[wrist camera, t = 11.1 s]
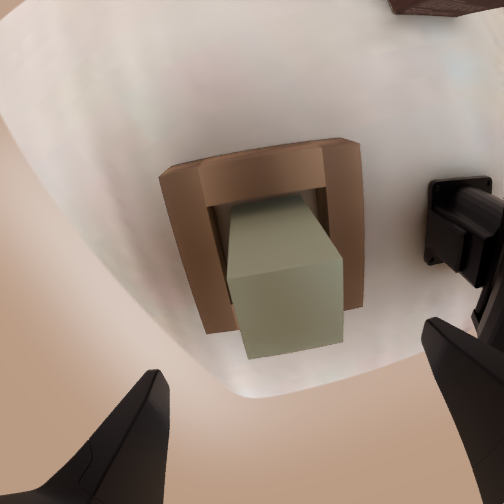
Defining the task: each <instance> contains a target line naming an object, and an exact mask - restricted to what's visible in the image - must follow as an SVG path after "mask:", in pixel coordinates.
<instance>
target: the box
mask: <svg viewBox="0 0 504 504" xmlns="http://www.w3.org/2000/svg"><path fill="white" fill-rule="evenodd" d="M388 2H389V5H390V7H391V9H392V10H393V12H394V13H395V14H423V15H440V16H452V17H458V16H462V15H466V14H470V13H475V12H480V11H485V10H489V9H494V8H500V7H504V0H388Z"/></svg>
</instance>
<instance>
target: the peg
mask: <svg viewBox="0 0 504 504" xmlns="http://www.w3.org/2000/svg"><path fill="white" fill-rule="evenodd" d="M227 283H228V286H229V290H230V294H231V298H232V302H233V305H234V309H235V313H236V317H237V320H238V324H239V328H240V331H241V335H242V339H243V342H244V346H245V350H246V353H247V357H248V359H255V358H261V357H268V356H274V355H280V354H286V353H291V352H297V351H302V350H307V349H312V348H317V347H322V346H327V345H331V344H336V343H340V342H343V258H342V257H341V255H340V254H339V252H338V251H337V249H336V247H335V246H334V244H333V243H332V241H331V240H330V238H329V237H328V235H327V234H326V232H325V231H324V229H323V228H322V226H321V225H320V223H319V222H318V220H317V219H316V217H315V216H314V214H313V213H312V211H311V210H310V209H309V207H308V206H307V204H306V203H305V201H304V200H303V198H302V197H301V196H300V194H299V195H293V196H287V197H281V198H275V199H269V200H263V201H257V202H252V203H246V204H241V205H236V206H232V207H231V221H230V235H229V250H228V266H227Z"/></svg>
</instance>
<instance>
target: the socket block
mask: <svg viewBox="0 0 504 504" xmlns="http://www.w3.org/2000/svg"><path fill="white" fill-rule="evenodd" d="M158 178H159V181H160V185H161V189H162V193H163V197H164V200H165V204H166V208H167V211H168V215H169V218H170V222H171V226H172V229H173V232H174V236H175V239H176V243H177V246H178V249H179V253H180V256H181V259H182V262H183V266H184V269H185V272H186V275H187V278H188V281H189V284H190V287H191V291H192V294H193V297H194V300H195V303H196V305H197V308H198V311H199V314H200V317H201V320H202V323H203V326H204V329H205V331H206V334H212V333H219V332H227V331H234V330H240V328H239V324H238V320H237V317H236V313H235V309H234V305H233V302H232V298H231V294H230V290H229V286H228V283H227V266H228V250H229V235H230V221H231V207H232V206H236V205H241V204H246V203H252V202H257V201H263V200H269V199H275V198H281V197H287V196H293V195H299V194H300V196H301V197H302V198H303V200H304V201H305V203H306V204H307V206H308V207H309V209H310V210H311V211H312V213H313V214H314V216H315V217H316V219H317V220H318V222H319V223H320V225H321V226H322V228H323V229H324V231H325V232H326V234H327V235H328V237H329V238H330V240H331V241H332V243H333V244H334V246H335V247H336V249H337V251H338V252H339V254H340V255H341V257H342V258H343V311H346V310H350V309H355V308H359V307H363V292H364V200H363V181H362V166H361V153H360V144H359V143H356V142H353V141H350V140H347V139H343V138H333V139H323V140H314V141H306V142H298V143H291V144H284V145H277V146H270V147H264V148H258V149H252V150H246V151H241V152H235V153H230V154H225V155H220V156H215V157H210V158H205V159H200V160H196V161H191V162H187V163H182V164H178V165H174V166H171V167H170V168H168V169H167V170H166V171H165V172H164V173H163V174H161V175H160V176H159V177H158Z"/></svg>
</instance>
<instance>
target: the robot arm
mask: <svg viewBox="0 0 504 504" xmlns="http://www.w3.org/2000/svg"><path fill="white" fill-rule="evenodd" d="M486 183H487V184H486ZM436 186H437V189H436V190H435V187H436ZM491 193H492V179H491V178H490V177H488V176H476V177H463V178H452V179H441V180H434V181H432V182H431V183H430V185H429V204H428V214H427V228H426V241H425V245H426V246H425V256H424V261H425V262H426V263H427V264H428V265H429V266H431V265H435V264H439V263H443V262H445V263H446V264H447V265H448V266H449V267H450V268H451V269H452V270H453V271H454V272H455V273H460V274H461V275H462V276H463V277H464V278H465V279H466V280H467V281H468V282H469V283H470V284H471V285H472V286H473V287H474V288H480V287H482V288H483V289H482V292H481V295H480V298H479V300H478V303H477V306H476V308H475V309H474V310H473V313H472V315H471V318H472V321H473V324H474V326H475V329H476V331H477V336H478V339H477V338H475V337H474V336H472V335H470V334H468V333H466V332H464V331H462V330H461V329H459V328H457V327H455V326H453V325H451V324H449V323H447V322H445V321H444V320H442V319H440V318H438V317H433V318H430V319H427V320H426V321H425V324H424V328H423V332H422V336H421V341H422V345H423V347H424V350H425V353H426V355H427V358H428V361H429V364H430V366H431V369H432V372H433V375H434V377H435V380H436V382H437V384H438V386H439V388H440V391H441V393H442V395H443V397H444V399H445V402H446V404H447V406H448V408H449V411H450V413H451V415H452V417H453V420H454V422H455V425H456V427H457V429H458V432H459V435H460V437H461V439H462V442H463V444H464V447H465V450H466V452H467V455H468V458H469V461H470V463H471V466H472V469H473V473H474V476H475V479H476V481H477V484H478V488H479V491H480V494H481V498H482V501H483V504H503V503H504V201H503V200H501V199H499V198H497V197H496V196H494V195H492V194H491ZM431 257H432V258H431ZM430 258H431V259H430ZM169 416H170V389H169V385H168V383H167V381H166V379H165V378H164V376H163V374H162V372H161V371H160V370H158V369H154V370H148V371H146V373H145V374H144V375H143V376H142V377H141V378H140V379H139V381H138V382H137V383H136V384H135V385H134V386H133V388H132V389H131V390H130V391H129V392H128V394H127V395H126V396H125V397H124V398H123V399H122V401H121V402H120V403H119V404H118V405H117V407H116V408H115V409H114V410H113V411H112V412H111V414H110V415H109V416H108V417H107V418H106V419H105V420H104V422H103V423H102V424H101V425H100V426H99V428H98V429H97V430H96V431H95V432H94V433H93V434H92V436H91V437H90V438H89V440H87V441H86V443H85V444H84V445H83V446H82V447H81V448H80V449H79V451H78V452H77V453H76V454H75V455H74V456H73V457H72V458H71V459H70V460H69V461H68V462H67V463H66V464H65V465H64V466H63V467H62V468H61V469H60V470H59V471H58V472H57V473H56V474H54V476H52V477H51V478H50V479H49V480H48V481H47V482H46V483H45V484H43V485H42V486H41V487H39V488H37V489H34V490H31V491H27V492H21V493H15V494H8V495H1V496H0V504H163V498H164V484H165V472H166V461H167V450H168V440H169V430H170V417H169Z"/></svg>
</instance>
